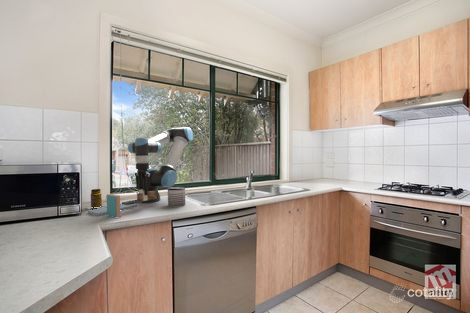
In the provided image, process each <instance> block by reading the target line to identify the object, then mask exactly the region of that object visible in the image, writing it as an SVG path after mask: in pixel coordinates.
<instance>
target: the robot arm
mask: <svg viewBox="0 0 470 313" xmlns="http://www.w3.org/2000/svg"><path fill="white" fill-rule="evenodd" d="M193 139H194V133H193V130H192V128H190V127H188V126H184V127H172V128H169V129H166V130H163V131H161V132H160V133H159V134H156V135H153V136H151V137H148V138H147V137H137V138H135V140H134V142H133V141H132V142H130V143H128V145H127V149H128V152H129V153H130V154H135V169H136V170H137V172H135V173H134V177H135V188H136V189H138V193H143V202H141V203H140V204H142V203H144V204H145V203H146V204H147V203H149V204H150V203H155V202H159V201H161V195H160V192H159V190H158V188H170V187H174V186H175V185H176V183H177V180H178V174H177V171H176V169H177V165H178V164H179V161H180V158H181V156H182V154H183V151H184V149H185V147H186V146H188V144H189V142H190V143H191V142H193ZM167 143H172V146H171V149H170V151H169V153H168V156H167V157H166V160H165V162H164V164H162V165H161V166H160V168H159V170H158V169H157V168H150V165H149V161H150V158H149V154H158V153H160V152H161V151H162V144H167ZM149 191H157V199H152V200H148V199H147V195H148V192H149ZM146 200H148V201H146Z"/></svg>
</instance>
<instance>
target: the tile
mask: <svg viewBox="0 0 470 313" xmlns="http://www.w3.org/2000/svg"><path fill="white" fill-rule="evenodd" d="M105 197H106V207H107V214H106V216H107V215H109V216H108V217H110V216H113V217H112V218H114V217H120V218H121V216H122V215H121V211H120V204H121V195H118V194H111V193H109V194H106V196H105Z"/></svg>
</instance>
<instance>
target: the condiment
mask: <svg viewBox="0 0 470 313" xmlns="http://www.w3.org/2000/svg"><path fill="white" fill-rule="evenodd" d="M90 191H91V192H90V207H93V208H94V207H100V206H103V204H102V202H103V200H102V193H101V189H100V188H94V189H91V190H90Z"/></svg>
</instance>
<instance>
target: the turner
mask: <svg viewBox="0 0 470 313" xmlns="http://www.w3.org/2000/svg"><path fill="white" fill-rule="evenodd" d="M147 199H148V200H152V199H157V191H149V192H148V195H147ZM148 200H146V201H148ZM141 202H143V193H139V192H137V193H136V199H132V200H126V201H122V202H121V203H122V204H124V205H131V204H142V203H141Z"/></svg>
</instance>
